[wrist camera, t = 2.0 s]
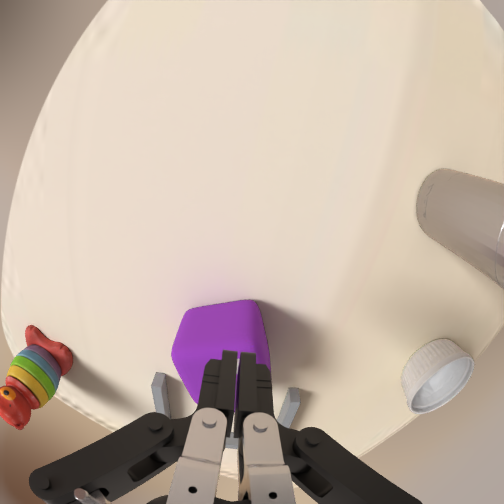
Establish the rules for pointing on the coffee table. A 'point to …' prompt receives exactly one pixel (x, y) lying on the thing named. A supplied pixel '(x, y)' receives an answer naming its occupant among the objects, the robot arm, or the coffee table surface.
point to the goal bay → (284, 419)
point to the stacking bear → (33, 377)
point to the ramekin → (435, 375)
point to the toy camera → (217, 339)
